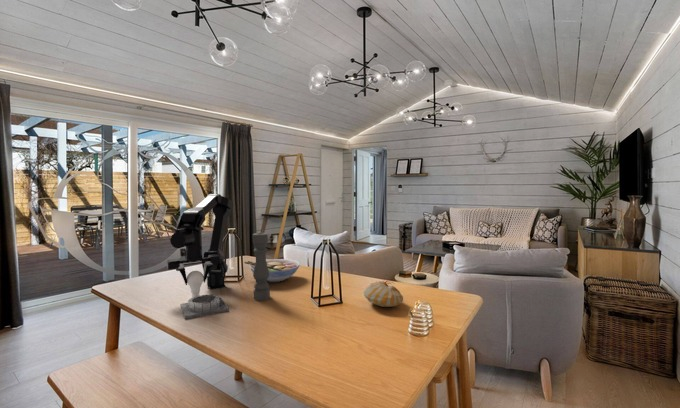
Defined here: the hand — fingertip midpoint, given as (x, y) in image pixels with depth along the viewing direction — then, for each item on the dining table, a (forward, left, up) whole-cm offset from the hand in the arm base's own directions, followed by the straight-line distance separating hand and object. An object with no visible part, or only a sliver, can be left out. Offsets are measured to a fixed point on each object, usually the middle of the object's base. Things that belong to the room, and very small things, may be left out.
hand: (195, 283), depth 133 cm
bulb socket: (-1, +13, -6) cm, 14 cm away
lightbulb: (0, 0, -6) cm, 6 cm away
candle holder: (-22, +13, -6) cm, 26 cm away
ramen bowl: (-35, -8, -6) cm, 36 cm away
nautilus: (-59, +43, -6) cm, 73 cm away
